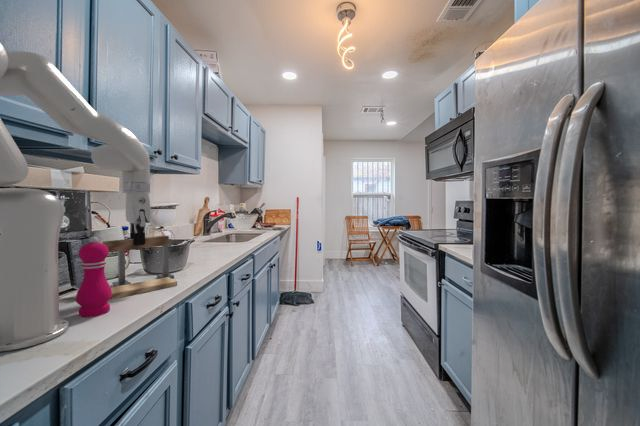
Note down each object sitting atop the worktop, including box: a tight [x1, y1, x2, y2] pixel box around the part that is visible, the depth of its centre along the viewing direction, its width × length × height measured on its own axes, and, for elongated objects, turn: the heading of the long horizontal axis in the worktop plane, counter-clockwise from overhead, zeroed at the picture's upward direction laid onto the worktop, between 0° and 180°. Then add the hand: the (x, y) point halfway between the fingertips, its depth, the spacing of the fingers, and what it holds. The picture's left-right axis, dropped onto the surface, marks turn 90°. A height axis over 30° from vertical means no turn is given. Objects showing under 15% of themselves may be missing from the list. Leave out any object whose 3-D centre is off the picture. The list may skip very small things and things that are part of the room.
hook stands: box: [111, 238, 175, 287], centre depth 99 cm, size 18×6×15 cm, turn 139°
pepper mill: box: [75, 236, 112, 318], centre depth 70 cm, size 7×7×20 cm
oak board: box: [108, 277, 178, 301], centre depth 89 cm, size 22×8×2 cm, turn 139°
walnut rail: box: [102, 235, 170, 253], centre depth 89 cm, size 18×2×3 cm, turn 139°
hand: (137, 244), depth 89 cm, fingers closed on walnut rail, 2 cm apart
